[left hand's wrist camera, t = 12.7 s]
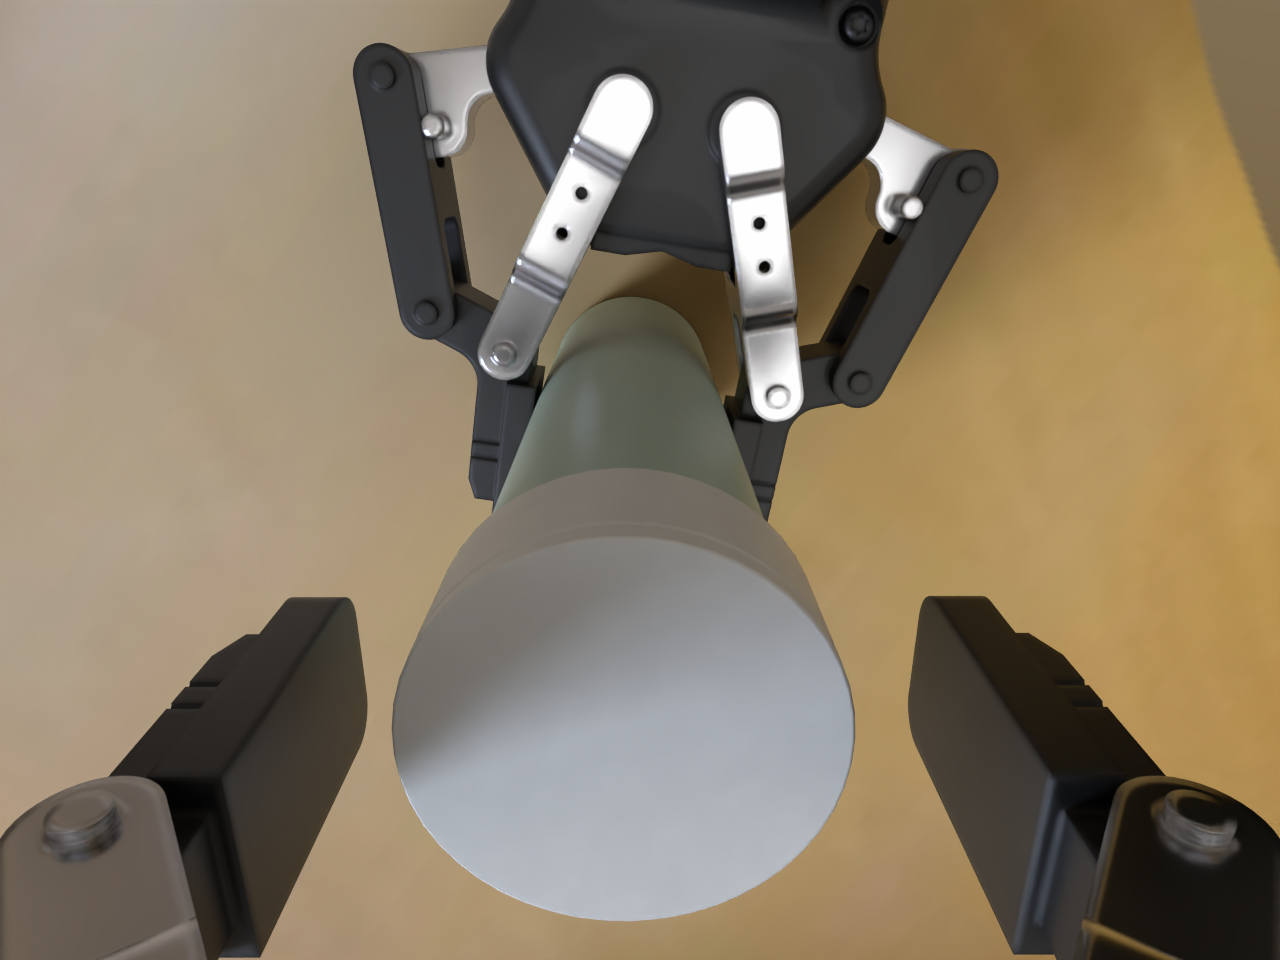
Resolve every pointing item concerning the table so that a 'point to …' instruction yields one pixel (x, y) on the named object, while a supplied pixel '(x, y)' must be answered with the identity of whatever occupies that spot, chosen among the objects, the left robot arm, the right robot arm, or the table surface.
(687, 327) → the jar
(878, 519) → the table surface
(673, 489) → the lid
